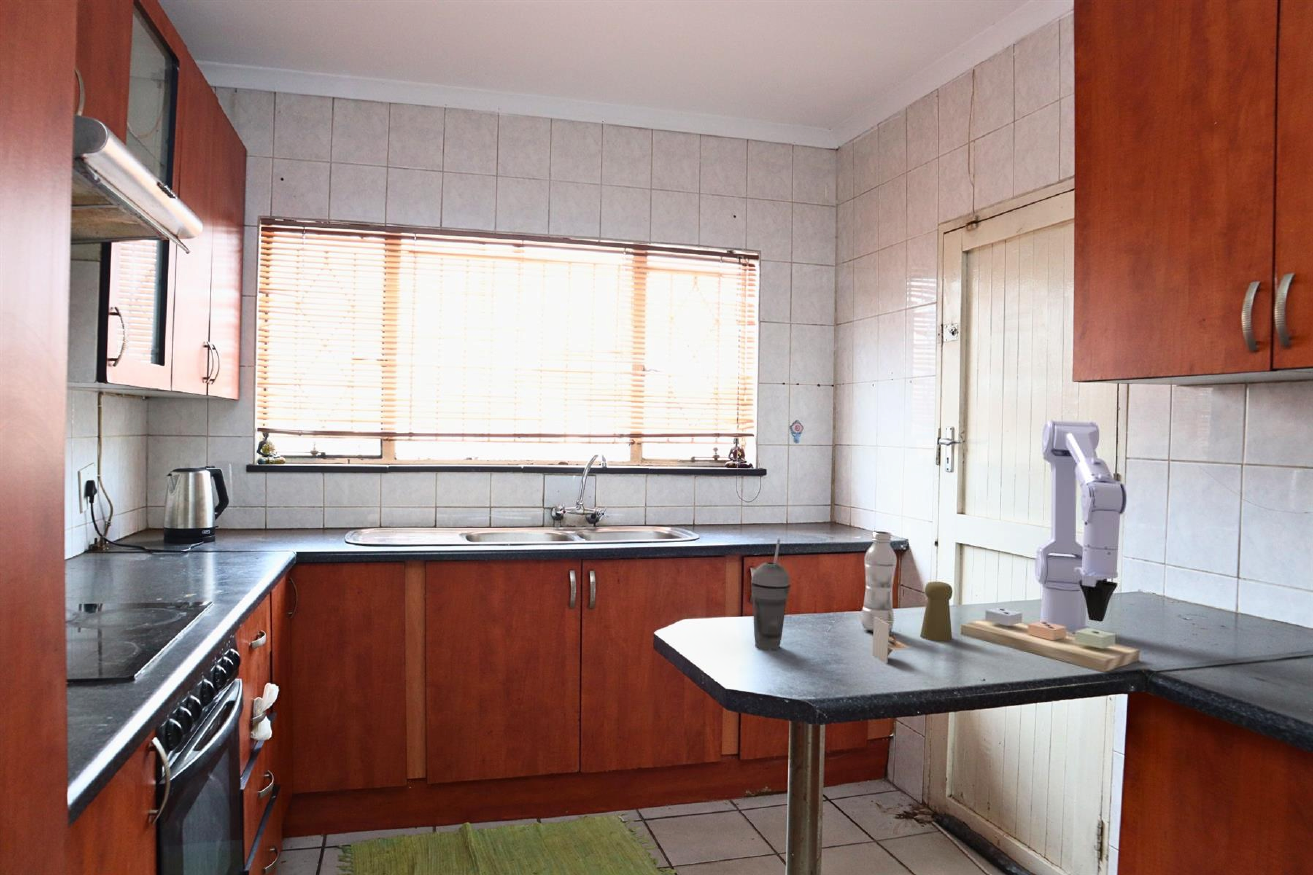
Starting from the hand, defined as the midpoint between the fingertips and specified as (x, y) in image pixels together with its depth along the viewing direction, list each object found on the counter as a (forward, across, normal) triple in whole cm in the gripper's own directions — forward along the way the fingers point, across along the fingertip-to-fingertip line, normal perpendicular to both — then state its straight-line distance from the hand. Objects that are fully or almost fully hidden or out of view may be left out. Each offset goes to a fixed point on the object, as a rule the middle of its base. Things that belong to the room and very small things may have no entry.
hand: (1096, 620), depth 154 cm
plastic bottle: (+7, +14, -37) cm, 40 cm away
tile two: (+4, -4, -18) cm, 19 cm away
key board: (+7, -2, -9) cm, 12 cm away
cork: (+7, +9, -26) cm, 29 cm away
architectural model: (+8, +31, -27) cm, 42 cm away
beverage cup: (+8, +41, -45) cm, 61 cm away
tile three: (+5, -2, -9) cm, 10 cm away
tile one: (+4, 0, 0) cm, 4 cm away
